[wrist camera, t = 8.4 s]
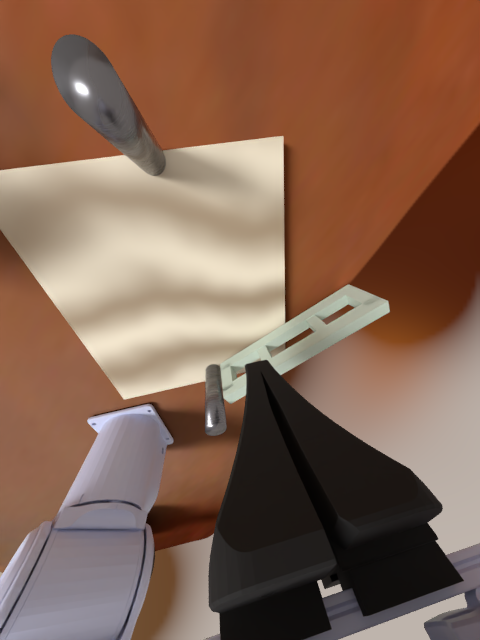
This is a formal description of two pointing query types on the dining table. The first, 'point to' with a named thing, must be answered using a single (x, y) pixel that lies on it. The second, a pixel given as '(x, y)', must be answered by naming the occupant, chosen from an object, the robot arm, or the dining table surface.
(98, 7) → the dining table surface
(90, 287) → the board
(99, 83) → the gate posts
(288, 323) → the gate
